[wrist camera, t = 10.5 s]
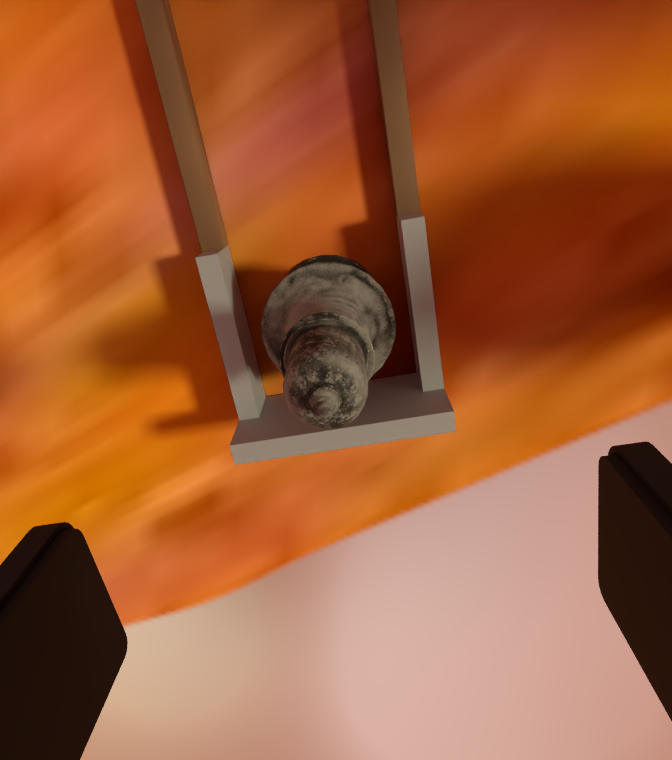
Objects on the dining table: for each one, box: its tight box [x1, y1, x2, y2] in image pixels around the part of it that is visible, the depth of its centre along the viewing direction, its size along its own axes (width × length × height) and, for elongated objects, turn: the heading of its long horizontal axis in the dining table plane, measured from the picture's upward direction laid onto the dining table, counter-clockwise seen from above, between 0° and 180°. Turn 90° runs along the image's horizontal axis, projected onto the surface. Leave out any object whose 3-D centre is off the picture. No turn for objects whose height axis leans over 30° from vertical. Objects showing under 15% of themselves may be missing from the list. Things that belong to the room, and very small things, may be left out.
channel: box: [135, 0, 420, 253], centre depth 23 cm, size 10×15×1 cm, turn 10°
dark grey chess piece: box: [261, 255, 396, 430], centre depth 22 cm, size 6×6×12 cm
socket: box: [195, 213, 456, 465], centre depth 25 cm, size 10×9×5 cm
